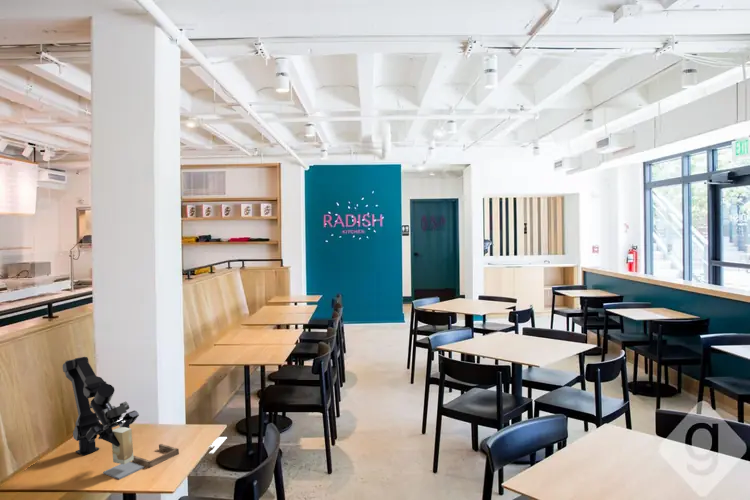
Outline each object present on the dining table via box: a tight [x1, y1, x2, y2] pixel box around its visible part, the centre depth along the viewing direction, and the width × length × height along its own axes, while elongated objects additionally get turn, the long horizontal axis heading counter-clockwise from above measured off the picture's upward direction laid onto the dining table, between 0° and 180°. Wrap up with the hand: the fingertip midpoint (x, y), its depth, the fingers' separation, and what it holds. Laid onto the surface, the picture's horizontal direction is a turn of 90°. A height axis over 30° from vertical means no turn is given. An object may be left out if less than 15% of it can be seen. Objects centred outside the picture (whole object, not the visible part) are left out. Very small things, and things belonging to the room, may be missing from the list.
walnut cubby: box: [131, 443, 180, 468], centre depth 197 cm, size 11×13×2 cm
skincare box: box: [111, 426, 134, 465], centre depth 186 cm, size 6×4×12 cm
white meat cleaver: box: [207, 436, 228, 455], centre depth 206 cm, size 5×15×1 cm, turn 175°
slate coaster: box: [102, 461, 145, 480], centre depth 187 cm, size 10×10×1 cm
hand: (124, 443), depth 186 cm, fingers closed on skincare box, 4 cm apart
